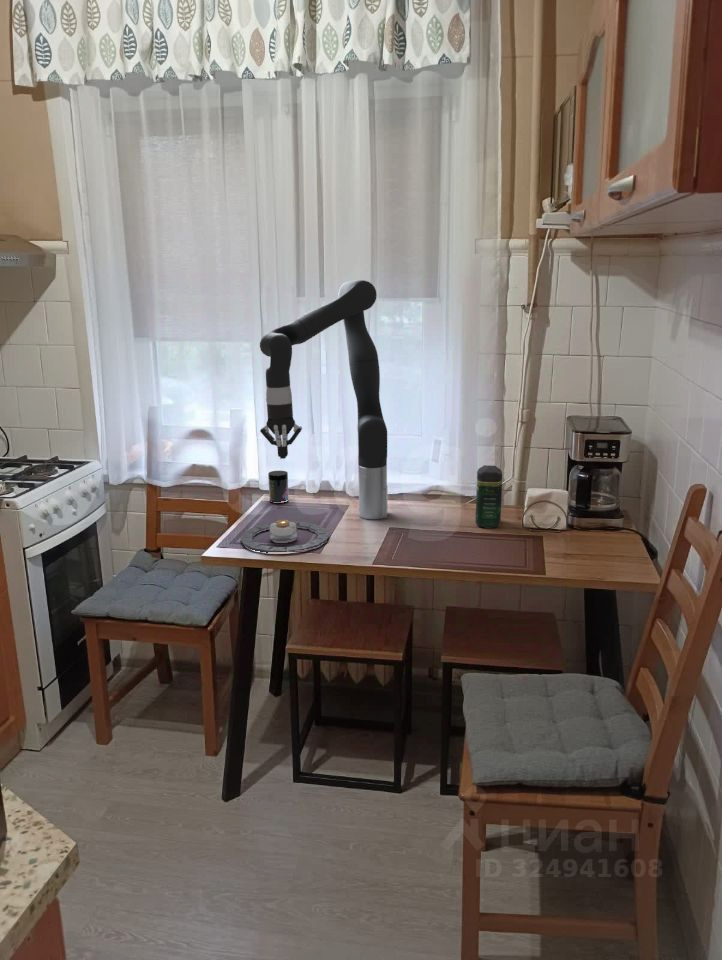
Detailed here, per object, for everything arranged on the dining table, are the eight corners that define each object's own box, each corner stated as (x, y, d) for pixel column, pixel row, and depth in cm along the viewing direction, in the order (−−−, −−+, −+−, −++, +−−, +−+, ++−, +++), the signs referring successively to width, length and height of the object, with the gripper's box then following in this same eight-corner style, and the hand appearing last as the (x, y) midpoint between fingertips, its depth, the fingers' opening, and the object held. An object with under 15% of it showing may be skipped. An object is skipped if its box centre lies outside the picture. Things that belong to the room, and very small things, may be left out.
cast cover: (298, 535, 243) (297, 517, 241) (294, 544, 235) (294, 526, 234) (272, 534, 243) (271, 517, 242) (268, 543, 236) (267, 525, 234)
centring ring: (332, 525, 250) (332, 522, 250) (321, 555, 226) (321, 551, 225) (252, 524, 253) (252, 521, 252) (232, 553, 228) (232, 550, 227)
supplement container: (281, 505, 272) (280, 476, 269) (265, 503, 275) (264, 474, 272) (292, 500, 278) (291, 471, 275) (276, 497, 281) (275, 469, 278)
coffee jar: (501, 529, 245) (503, 471, 240) (475, 528, 246) (477, 471, 241) (500, 519, 254) (502, 463, 249) (475, 518, 255) (476, 463, 250)
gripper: (303, 398, 237) (306, 454, 242) (259, 399, 238) (263, 455, 243) (299, 403, 230) (303, 460, 235) (255, 404, 231) (259, 461, 235)
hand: (283, 457), depth 239 cm, fingers closed
